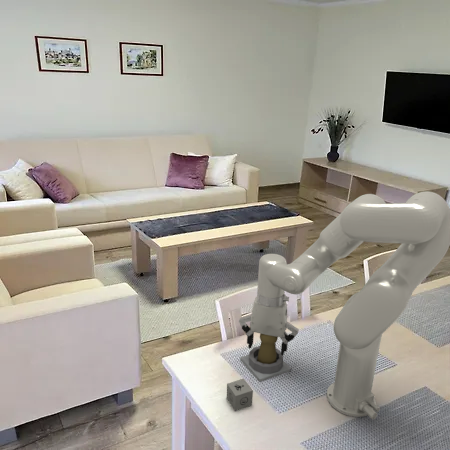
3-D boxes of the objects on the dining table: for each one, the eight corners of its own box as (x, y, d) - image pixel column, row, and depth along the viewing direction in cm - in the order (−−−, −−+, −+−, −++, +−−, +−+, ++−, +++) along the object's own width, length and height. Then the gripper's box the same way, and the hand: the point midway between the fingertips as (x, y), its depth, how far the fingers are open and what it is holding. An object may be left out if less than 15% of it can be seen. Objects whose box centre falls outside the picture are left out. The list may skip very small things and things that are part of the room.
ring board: (291, 371, 125) (292, 361, 124) (259, 382, 120) (260, 372, 119) (270, 350, 134) (271, 341, 133) (240, 360, 129) (240, 350, 128)
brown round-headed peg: (263, 354, 130) (266, 323, 127) (280, 362, 127) (283, 330, 123) (252, 363, 126) (254, 331, 122) (269, 372, 122) (272, 340, 119)
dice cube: (226, 399, 114) (227, 383, 112) (242, 393, 116) (243, 378, 114) (235, 411, 110) (235, 396, 108) (252, 405, 112) (252, 390, 110)
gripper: (303, 296, 120) (298, 347, 126) (244, 286, 125) (241, 336, 131) (299, 309, 114) (294, 363, 119) (237, 298, 118) (234, 350, 124)
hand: (266, 349), depth 125 cm, fingers open, 9 cm apart
